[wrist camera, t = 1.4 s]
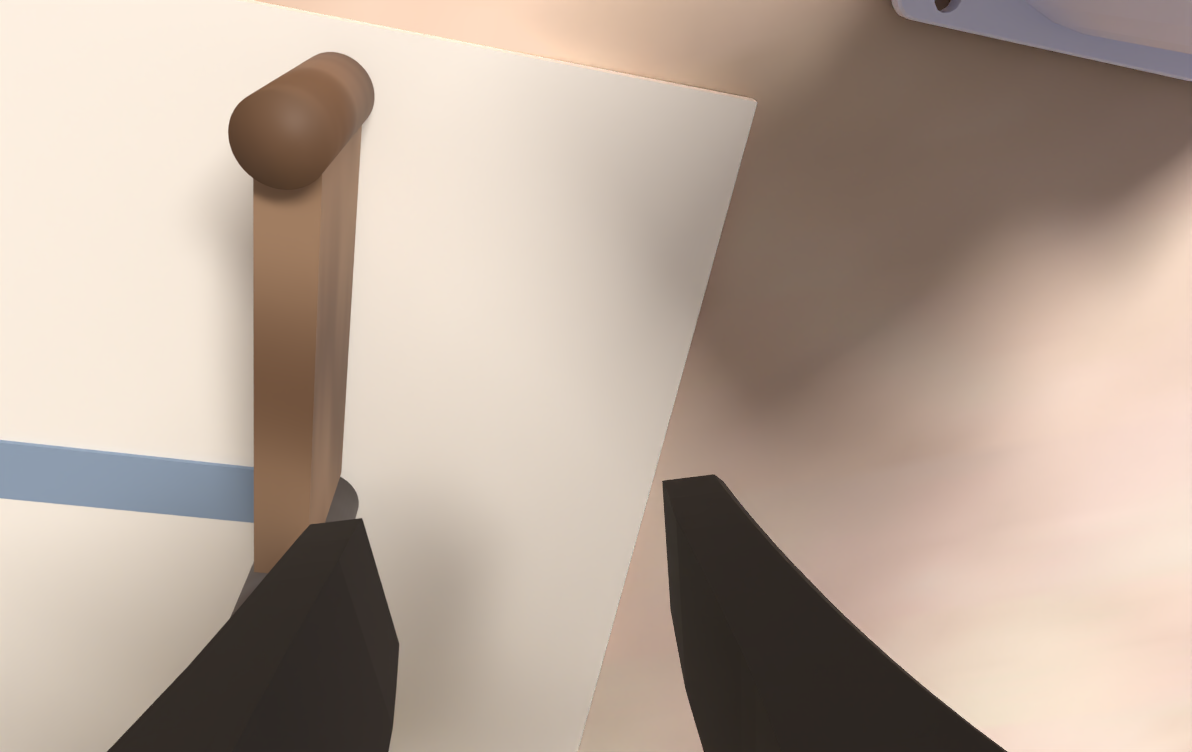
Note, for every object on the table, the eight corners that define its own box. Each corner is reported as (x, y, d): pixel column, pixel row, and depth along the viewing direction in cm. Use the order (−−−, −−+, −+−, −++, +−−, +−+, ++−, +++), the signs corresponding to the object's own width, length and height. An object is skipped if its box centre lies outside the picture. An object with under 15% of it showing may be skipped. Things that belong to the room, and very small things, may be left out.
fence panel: (350, 473, 19) (311, 595, 16) (288, 467, 19) (235, 588, 15) (376, 59, 15) (333, 100, 11) (297, 45, 15) (227, 81, 11)
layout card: (752, 98, 16) (759, 103, 16) (563, 787, 27) (564, 802, 26) (-409, -130, 13) (-441, -132, 13) (-122, 753, 23) (-135, 769, 23)
